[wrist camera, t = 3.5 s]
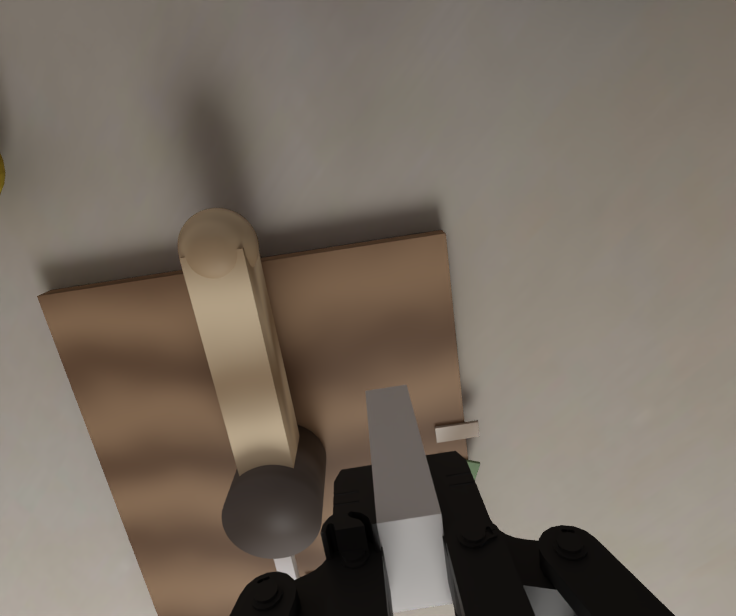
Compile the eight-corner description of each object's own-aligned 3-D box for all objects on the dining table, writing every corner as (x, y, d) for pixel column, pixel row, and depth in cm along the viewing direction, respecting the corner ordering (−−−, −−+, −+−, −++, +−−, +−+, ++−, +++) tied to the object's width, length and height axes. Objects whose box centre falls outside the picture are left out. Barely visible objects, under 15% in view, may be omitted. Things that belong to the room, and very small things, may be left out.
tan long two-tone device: (175, 210, 24) (129, 225, 19) (272, 195, 24) (252, 206, 19) (283, 613, 33) (271, 698, 28) (356, 603, 33) (357, 685, 27)
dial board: (50, 290, 27) (34, 297, 25) (455, 227, 26) (461, 231, 25) (168, 611, 34) (161, 630, 33) (486, 565, 34) (492, 582, 33)
